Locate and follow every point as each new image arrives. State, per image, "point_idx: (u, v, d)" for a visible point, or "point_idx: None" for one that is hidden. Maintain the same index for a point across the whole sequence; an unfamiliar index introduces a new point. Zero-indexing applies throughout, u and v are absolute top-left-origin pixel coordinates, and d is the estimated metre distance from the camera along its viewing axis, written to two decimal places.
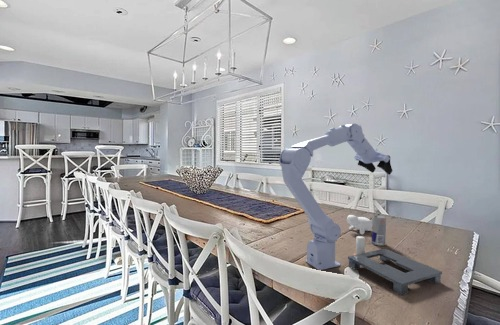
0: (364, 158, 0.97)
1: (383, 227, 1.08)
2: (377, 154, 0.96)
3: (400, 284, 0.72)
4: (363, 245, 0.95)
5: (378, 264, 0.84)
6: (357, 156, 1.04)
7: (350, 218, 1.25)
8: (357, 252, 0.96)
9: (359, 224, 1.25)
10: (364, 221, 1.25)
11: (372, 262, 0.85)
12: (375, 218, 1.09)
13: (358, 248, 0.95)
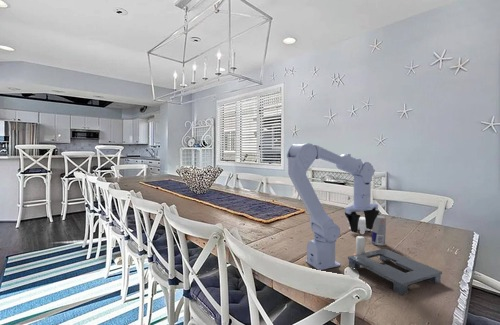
0: None
1: (383, 227, 1.08)
2: (358, 207, 0.93)
3: (400, 284, 0.72)
4: (363, 245, 0.95)
5: (378, 264, 0.84)
6: None
7: None
8: (357, 252, 0.96)
9: (359, 224, 1.26)
10: (364, 221, 1.25)
11: (372, 262, 0.85)
12: None
13: (358, 248, 0.95)
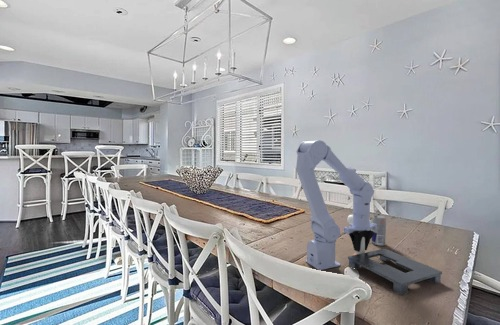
0: None
1: (383, 227, 1.08)
2: (357, 227, 0.93)
3: (400, 284, 0.72)
4: (363, 245, 0.95)
5: (378, 264, 0.84)
6: None
7: (350, 218, 1.25)
8: (357, 252, 0.96)
9: None
10: None
11: (372, 262, 0.85)
12: (375, 218, 1.09)
13: None
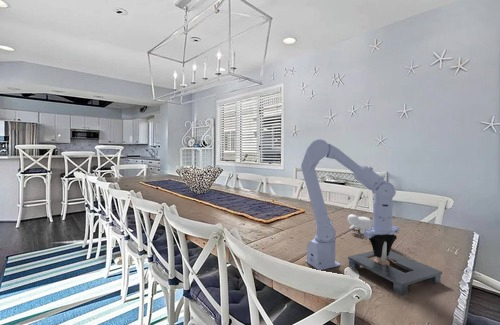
0: None
1: None
2: (379, 231, 0.85)
3: (400, 284, 0.72)
4: (385, 250, 0.86)
5: (378, 264, 0.84)
6: (393, 227, 0.90)
7: (350, 218, 1.25)
8: (378, 258, 0.87)
9: (360, 224, 1.26)
10: (365, 221, 1.26)
11: (372, 262, 0.85)
12: None
13: None
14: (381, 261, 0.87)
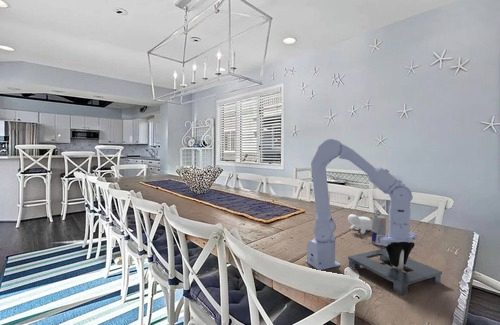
0: None
1: (383, 227, 1.08)
2: (396, 238, 0.80)
3: (400, 284, 0.72)
4: (402, 259, 0.81)
5: (378, 264, 0.84)
6: (410, 234, 0.84)
7: (351, 217, 1.26)
8: (394, 267, 0.82)
9: (360, 223, 1.26)
10: (365, 221, 1.26)
11: (372, 262, 0.85)
12: (375, 218, 1.09)
13: None
14: None
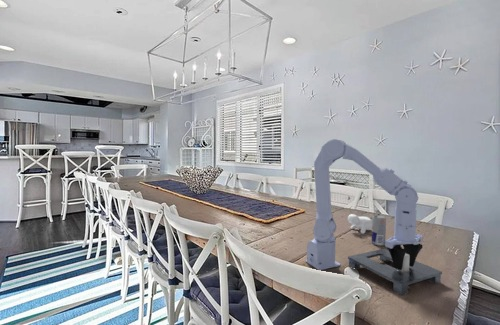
0: None
1: (383, 227, 1.08)
2: (401, 241, 0.78)
3: (400, 284, 0.72)
4: (407, 264, 0.79)
5: (378, 264, 0.84)
6: None
7: (351, 217, 1.26)
8: None
9: (360, 223, 1.27)
10: (365, 220, 1.26)
11: (372, 262, 0.85)
12: (375, 218, 1.09)
13: None
14: None
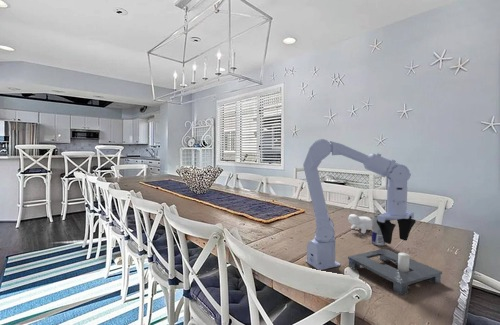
0: None
1: None
2: (393, 215, 0.83)
3: (400, 284, 0.72)
4: (407, 264, 0.79)
5: (378, 264, 0.84)
6: None
7: (351, 217, 1.26)
8: None
9: (360, 223, 1.27)
10: (365, 220, 1.26)
11: (372, 262, 0.85)
12: (375, 218, 1.09)
13: (401, 267, 0.80)
14: None
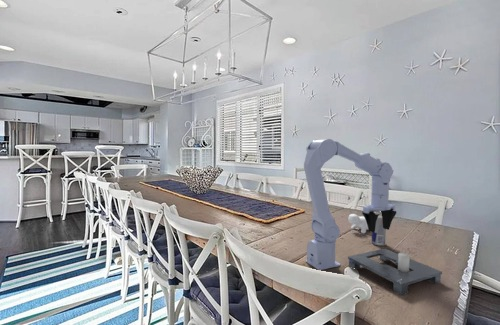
0: None
1: None
2: (376, 207, 0.94)
3: (400, 284, 0.72)
4: (407, 264, 0.79)
5: (378, 264, 0.84)
6: None
7: (351, 217, 1.26)
8: None
9: (360, 223, 1.27)
10: (365, 220, 1.26)
11: (372, 262, 0.85)
12: None
13: (401, 267, 0.80)
14: None
